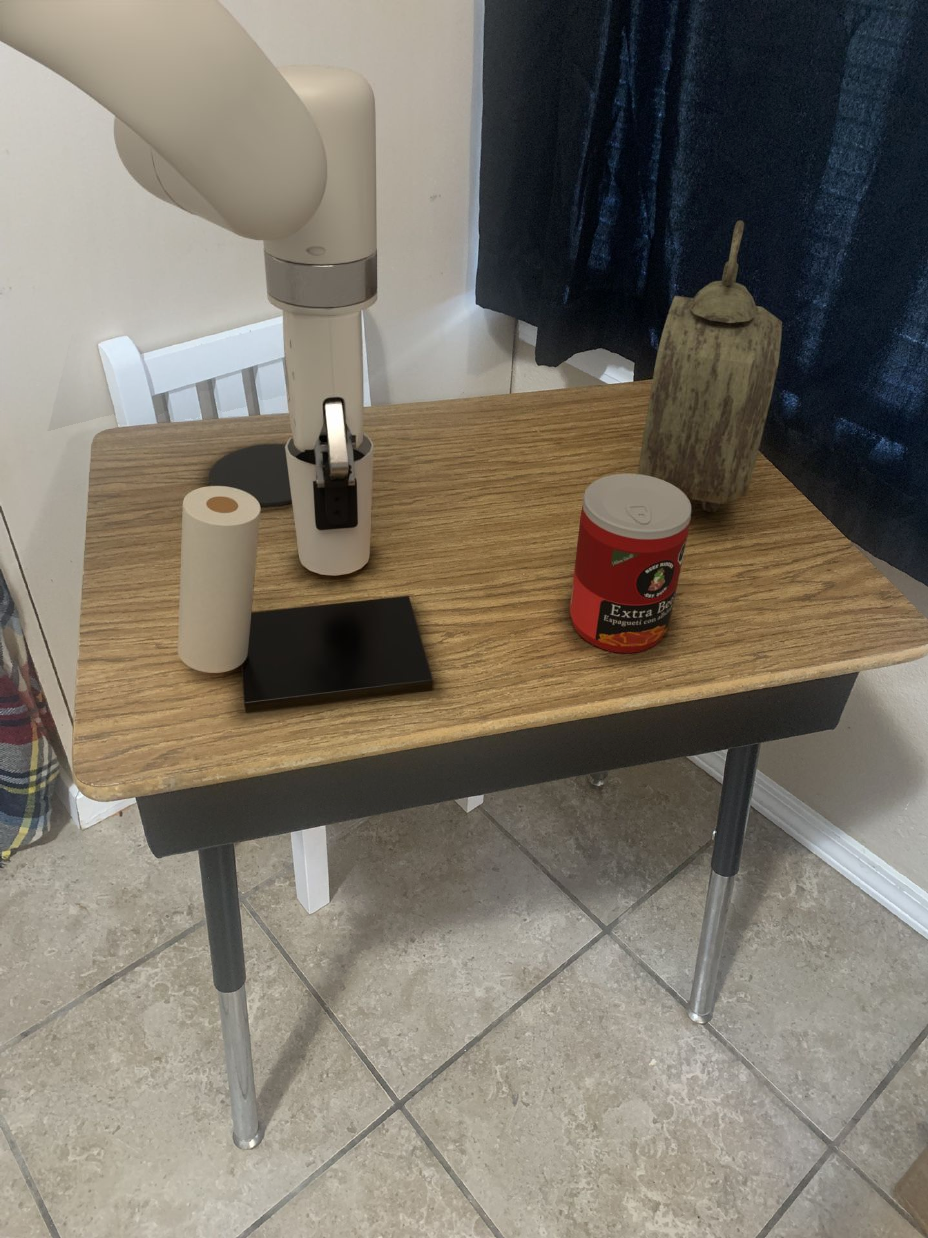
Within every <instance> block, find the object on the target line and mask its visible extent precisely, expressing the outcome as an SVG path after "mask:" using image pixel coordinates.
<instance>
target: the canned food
mask: <svg viewBox="0 0 928 1238" xmlns="http://www.w3.org/2000/svg"><path fill="white" fill-rule="evenodd" d="M691 515H692V504H691V501H690V499H689V498H687V496H686V495H685V494H684V493H683V492H682V491H681V490H680V489H678V488H677V487H675V486H674V485H672V484H670V483H668V482H666V481H664V480H661V479H658V478H655V477H651V476H647V475H640V474H638V473H615V474H610V475H605V476H602V477H600V478H597V479H595V480H594V481H593V482H591V483H590V484H589V485H587V487H586V489H585V491H584V495H583V498H582V504H581V510H580V516H579V517H580V518H579V526H578V536H577V545H576V553H575V561H574V570H573V578H572V587H571V596H570V603H569V613H570V619H571V622H572V626H573V627H574V629H575V631H576V632H577V634H578V635H579V636H580V637H581V638H583V639H584V640H585V641H586V642H588V643H589V644H590V645H592V646H595V647H596V648H599V649H602V650H605V651H609V652H613V653H614V652H615V653H622V654H631V653H639V652H642V651H646V650H649V649H650V648H653V647H655V645H657V644H659V642H660V641H661V639H662V638H663V637H664V635H665V634H666V632H667V631H668V629H669V625H670V622H671V617H672V612H673V607H674V604H675V603H674V602H675V598H676V593H677V588H678V583H679V578H680V574H681V570H682V569H681V568H682V564H683V559H684V553H685V550H686V545H687V540H688V535H689V531H690V524H691V518H692V516H691Z"/></svg>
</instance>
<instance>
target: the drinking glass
mask: <svg viewBox="0 0 928 1238" xmlns="http://www.w3.org/2000/svg"><path fill="white" fill-rule="evenodd" d="M345 436H346V435H345ZM319 442H320V443H322V442H321V441H320V440H319ZM285 445H286V446H285V450H286V458H287V466H288V474H289V482H290V490H291V497H292V503H291V505H292V514H293V520H294V527H295V536H296V544H297V552H298V553H297V554H298V558H299V561H300V564H301V565H302V566H303V567H304V568H306V569H307V570H308V571H310V572H313V573H316V574H318V575H323V576H324V575H325V576H335V577H336V576H341V575H348V574H352V573H354V572H356V571H358V570H361V569H362V568H363V567H364V566H365V565H366V564H368V562H369V559H370V555H371V534H372V533H371V532H372V531H371V529H372V501H373V476H374V475H373V474H374V473H373V471H374V447H375V444H374V442H373V441H372V439H371V437H370V436H369V435H367V434H365V433H364V432H363V442H362V443H361V445H360V446H359V447H358V448H356V449H355V448H354V446H353V458H354V473H355V478H356V480H357V505H358V525H357V526H356V527H354V528H343V529H331V530H318V529H317V528H316V524H315V510H314V493H313V481H317V479H316V467H315V454H314V449H313V450H305V452H301V451H299V450H298V449H297V448H296V447H295V445H294V441H293V435H292V436H291V437H289V438H288V439H287V442H286V444H285ZM322 454H323V467H324V465H325V462H329V453H328V452H326V453H322Z"/></svg>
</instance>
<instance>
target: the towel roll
mask: <svg viewBox="0 0 928 1238" xmlns="http://www.w3.org/2000/svg"><path fill="white" fill-rule="evenodd" d="M261 511H262V510H261V507H260V504H259V502H258V501H257V500H256V499H255V498H254V497H253V496H252V495H250V494H249V493H247V492H245V491H242V490H239V489H236V488H232V487H225V486H211V485H209V486H203V487H199V488H195V489H193V490H192V491H190V492H188V493H187V494H186V495H185V496H184V498H183V499H182V515H181V517H182V518H181V520H182V521H181V544H180V545H181V546H180V572H179V575H180V576H179V601H178V629H177V655H178V657H179V659H180V661H181V662H182V663H183V664H184V665H186V666H187V667H189V668H191V669H193V670H196V671H199V672H202V673H208V674H211V673H212V674H220V673H226V672H230V671H233V670H235V669H237V668H238V667H240V666H242V663H243V662H244V661H245V660H246V658H247V655H248V645H249V634H250V622H251V612H253V610H252V609H253V598H254V589H255V577H256V568H257V567H256V566H257V557H258V556H257V555H258V554H257V553H258V543H259V533H260V522H261V521H260V520H261Z"/></svg>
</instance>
